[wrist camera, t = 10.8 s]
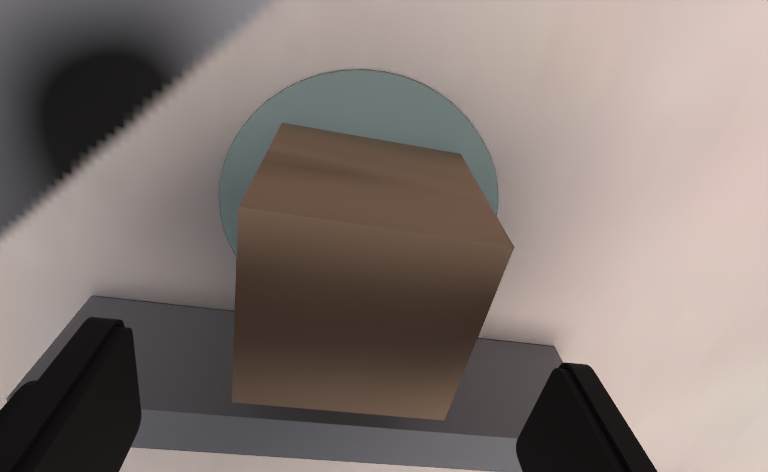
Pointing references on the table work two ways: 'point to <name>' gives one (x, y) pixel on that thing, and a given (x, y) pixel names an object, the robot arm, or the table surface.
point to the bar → (309, 426)
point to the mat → (354, 128)
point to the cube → (361, 275)
